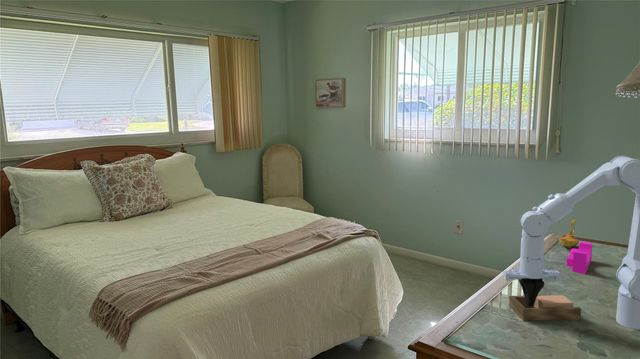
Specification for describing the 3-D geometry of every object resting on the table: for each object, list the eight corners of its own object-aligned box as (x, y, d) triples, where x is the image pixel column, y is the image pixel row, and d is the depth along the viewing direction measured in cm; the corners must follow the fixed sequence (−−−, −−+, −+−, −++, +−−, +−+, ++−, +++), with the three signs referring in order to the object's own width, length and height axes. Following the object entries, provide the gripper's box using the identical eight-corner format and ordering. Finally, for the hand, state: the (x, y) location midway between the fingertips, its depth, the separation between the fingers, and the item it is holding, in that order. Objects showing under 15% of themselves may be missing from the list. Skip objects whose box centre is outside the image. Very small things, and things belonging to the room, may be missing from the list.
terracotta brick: (562, 308, 124) (562, 295, 124) (572, 316, 119) (573, 302, 119) (533, 309, 124) (534, 295, 123) (542, 317, 119) (543, 303, 119)
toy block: (571, 260, 164) (572, 240, 163) (591, 263, 160) (592, 243, 159) (563, 272, 152) (565, 250, 151) (584, 275, 148) (586, 254, 147)
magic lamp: (551, 255, 169) (552, 226, 168) (563, 244, 182) (565, 217, 181) (571, 258, 165) (573, 229, 163) (582, 247, 178) (584, 220, 176)
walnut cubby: (562, 304, 126) (562, 294, 126) (580, 319, 117) (581, 308, 117) (508, 305, 126) (509, 295, 126) (523, 320, 117) (523, 309, 117)
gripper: (551, 251, 123) (549, 297, 125) (499, 252, 123) (497, 298, 125) (565, 259, 116) (562, 308, 118) (509, 260, 116) (507, 309, 118)
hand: (529, 304), depth 121 cm, fingers closed
